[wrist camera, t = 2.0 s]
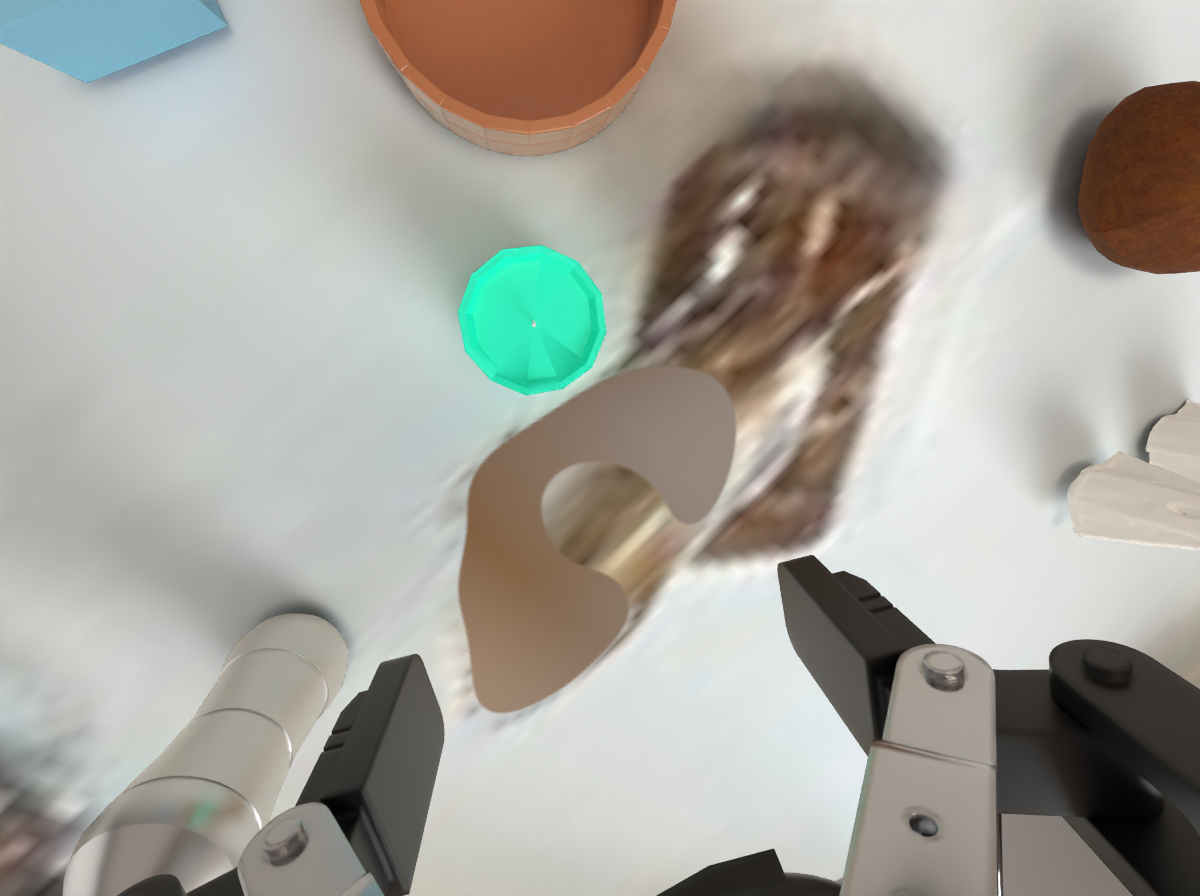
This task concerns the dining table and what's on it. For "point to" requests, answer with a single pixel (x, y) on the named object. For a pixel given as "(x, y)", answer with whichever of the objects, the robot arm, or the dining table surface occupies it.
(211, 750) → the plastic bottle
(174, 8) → the teapot
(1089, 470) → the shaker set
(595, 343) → the candle
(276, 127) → the dining table surface
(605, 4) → the pot
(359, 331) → the dining table surface
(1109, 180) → the potato
